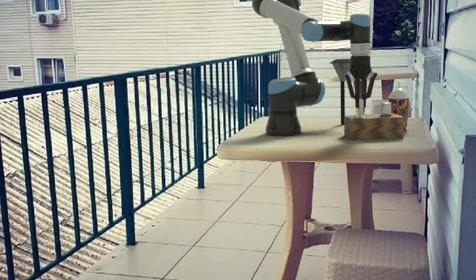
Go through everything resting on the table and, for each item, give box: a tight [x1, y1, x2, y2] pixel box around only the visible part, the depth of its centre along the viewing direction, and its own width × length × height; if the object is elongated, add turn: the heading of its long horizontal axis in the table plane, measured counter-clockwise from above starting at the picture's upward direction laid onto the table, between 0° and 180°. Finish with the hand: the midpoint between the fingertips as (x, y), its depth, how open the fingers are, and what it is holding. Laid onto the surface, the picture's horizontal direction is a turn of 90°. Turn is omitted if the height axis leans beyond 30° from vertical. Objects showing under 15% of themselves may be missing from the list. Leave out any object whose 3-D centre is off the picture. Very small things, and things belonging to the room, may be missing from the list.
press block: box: [343, 113, 405, 141], centre depth 207 cm, size 20×12×8 cm, turn 93°
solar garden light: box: [328, 58, 350, 126], centre depth 242 cm, size 12×12×30 cm
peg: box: [380, 101, 391, 117], centre depth 207 cm, size 4×4×8 cm
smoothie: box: [387, 81, 410, 131], centre depth 221 cm, size 8×8×20 cm
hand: (360, 116), depth 207 cm, fingers closed
